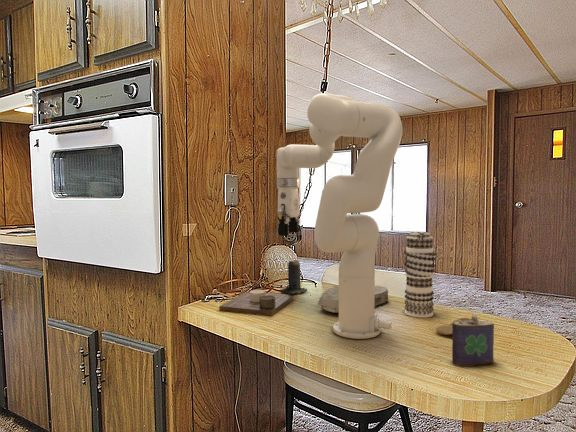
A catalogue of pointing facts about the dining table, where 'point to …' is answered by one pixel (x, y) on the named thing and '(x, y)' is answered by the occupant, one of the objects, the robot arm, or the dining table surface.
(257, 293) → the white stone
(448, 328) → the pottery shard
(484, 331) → the flask
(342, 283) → the robot arm
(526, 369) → the dining table surface
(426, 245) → the decorative candle
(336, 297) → the fossil stone
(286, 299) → the board
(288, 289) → the dark post with base
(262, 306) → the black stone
